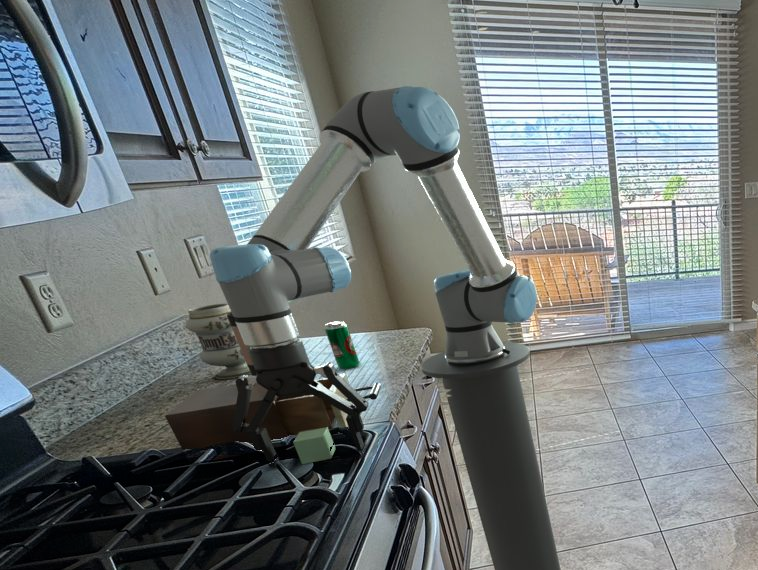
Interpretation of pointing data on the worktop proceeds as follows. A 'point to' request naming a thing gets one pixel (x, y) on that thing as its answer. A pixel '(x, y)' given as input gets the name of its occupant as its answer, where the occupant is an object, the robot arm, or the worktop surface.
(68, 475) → the worktop surface
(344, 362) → the soda can
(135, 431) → the worktop surface
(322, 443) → the block
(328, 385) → the drawer
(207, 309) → the apothecary jar
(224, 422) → the cabinet
